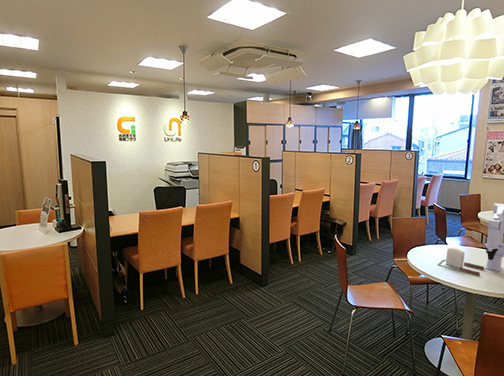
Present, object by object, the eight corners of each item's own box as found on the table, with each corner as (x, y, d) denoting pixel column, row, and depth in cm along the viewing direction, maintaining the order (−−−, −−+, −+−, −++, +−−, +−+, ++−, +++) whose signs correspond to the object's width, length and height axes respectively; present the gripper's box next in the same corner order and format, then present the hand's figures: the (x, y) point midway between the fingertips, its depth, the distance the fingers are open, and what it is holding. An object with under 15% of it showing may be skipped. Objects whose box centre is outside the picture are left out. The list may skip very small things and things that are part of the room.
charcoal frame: (443, 259, 220) (443, 259, 220) (462, 264, 211) (462, 264, 211) (437, 265, 210) (437, 264, 210) (456, 270, 201) (456, 269, 201)
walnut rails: (464, 264, 211) (464, 262, 210) (483, 269, 203) (484, 266, 202) (458, 270, 201) (459, 267, 201) (479, 275, 193) (479, 272, 193)
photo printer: (464, 268, 205) (466, 250, 203) (460, 269, 203) (462, 251, 201) (447, 262, 214) (449, 245, 212) (444, 264, 212) (446, 246, 210)
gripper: (487, 235, 198) (485, 255, 200) (482, 239, 189) (480, 260, 191) (501, 237, 193) (499, 258, 195) (497, 242, 183) (494, 263, 185)
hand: (490, 259), depth 192 cm, fingers closed
